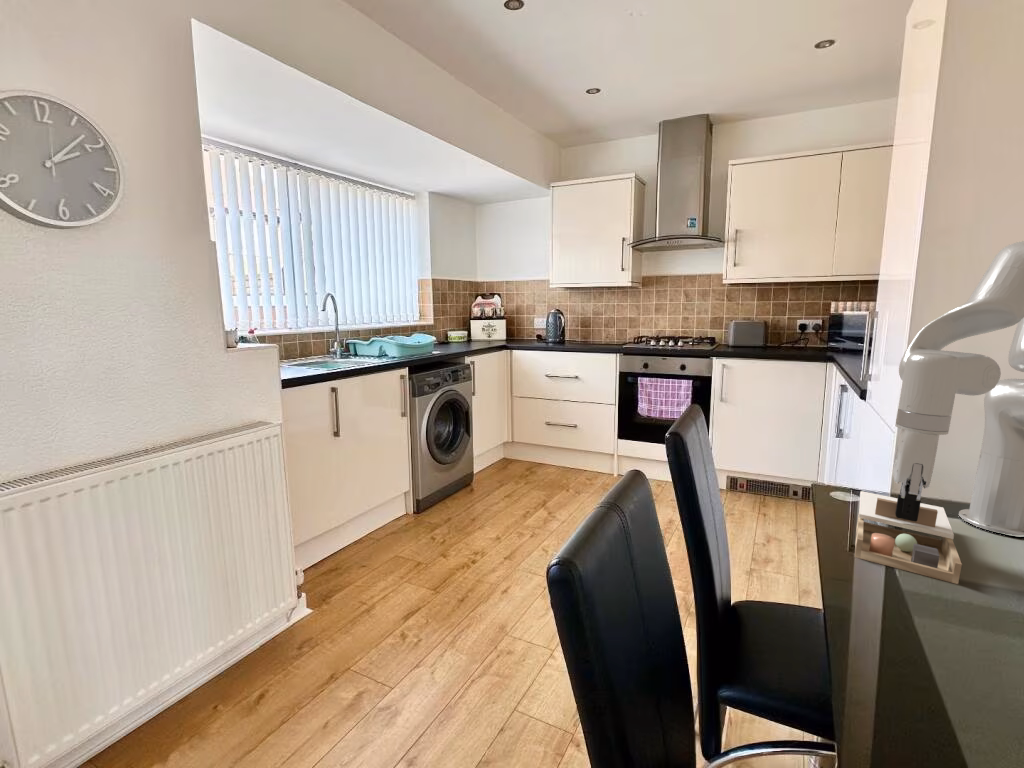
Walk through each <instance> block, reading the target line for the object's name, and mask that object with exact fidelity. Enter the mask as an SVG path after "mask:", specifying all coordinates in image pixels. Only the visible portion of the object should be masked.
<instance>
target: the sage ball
mask: <svg viewBox="0 0 1024 768" xmlns="http://www.w3.org/2000/svg"><path fill="white" fill-rule="evenodd" d="M895 543H896V545H897V547H898V548H899V549H900V550H902V551H905V552H912V551H913V546H914V544H917V541H916V539H915V538H914V537H913V536H911V535H909V534H900V535H898V536H897V537H896V539H895Z"/></svg>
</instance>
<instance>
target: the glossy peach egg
mask: <svg viewBox="0 0 1024 768" xmlns="http://www.w3.org/2000/svg"><path fill="white" fill-rule="evenodd" d="M894 543H895V539H894V538H892V537H890V536H888V535H885V534H880V533H873V534H872V536H871V542H870V548H869V551H871V552H875V553H878V554H882V555H886V556H890V557H892V555H893V549H894Z"/></svg>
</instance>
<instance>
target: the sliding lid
mask: <svg viewBox="0 0 1024 768" xmlns="http://www.w3.org/2000/svg"><path fill="white" fill-rule="evenodd" d="M897 499H898V497H897V498H896V497H893V496H888V495H882V494H877V493H872V492H867V491H861V490H860V493H859V507H858V508H859V509H858V510H859V511H858V514H859V518H862V519H864V520H867V521H871V522H876V523H880V524H885V525H890V526H894V527H897V528H898V527H899V528H903V529H907V530H912V531H916V532H920V533H924V534H928V535H934V536H937V537H941V538H942V537H946V538H950V539H953V540H954V538H955V534H954V531H953V529H952V526H951V524H950V521H949V518H948V516H947V514H946V511H945V508H944V507H943V506H937V505H934V504H933V505H931V504H926V503H920V508H919V514H918V520H917V521H910V520H905V519H901V518H897V517H896V514H895V511H896V505H897Z"/></svg>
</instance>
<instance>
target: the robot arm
mask: <svg viewBox="0 0 1024 768" xmlns="http://www.w3.org/2000/svg"><path fill="white" fill-rule="evenodd" d="M1015 325H1016V328H1015V330H1014V333H1013V337H1012V340H1011V344H1010V347H1009V351H1008V357H1007V358H1008V364H1009V366H1010V367H1011V368H1012V369H1013V370H1015V371H1018V372H1020V373H1024V241H1023V240H1022V241H1018V242H1017V241H1016V242H1013V243H1011V244H1008V245H1006V246H1004V247H1002V248H1001V249H1000V250H998V252H997V254H996V255H995V256H994V258H993V260H992V261H991V262H990V264H989V266H988V267H987V269H986V270H985V272H984V274H983V275H982V277H981V279H980V281H979V282H978V283H977V285H976V287H975V288H974V290H973V291H972V293H971V295H970V297H969V298H968V300H967V301H966V302H965V303H963V304H961V305H959V306H956V307H955V308H952V309H950V310H948V311H947V312H945V313H943V314H941V315H940V316H938V317H937V318H935V319H933V320H931V321H929V323H927V324H925V325H924V326H923V327H922V328H920V330H919V331H917V333H916V334H915V335H914V337H913V338H912V340H911V342H910V343H909V344H908V347H906V349H905V351H904V353H903V356H902V357H901V360H900V363H899V365H898V366H899V367H898V374H899V375H898V376H899V378H900V380H901V381H902V382H901V389H900V395H899V402H898V407H897V412H896V419H895V427H896V428H898V429H901V430H900V434H899V438H898V443H897V448H896V454H895V459H894V464H893V469H892V475H893V476H892V477H893V481H894V482H895V484H898V485H899V484H900V490H899V493H898V495H897V498H898V499H897V505H896V511H895V514H896V517H897V518H901V519H905V520H910V521H917V520H918V514H919V508H920V503H921V502H922V501H921V497H922V490H923V489H928V488H929V487H930V485H931V481H932V477H933V472H934V468H935V462H936V457H937V450H938V445H939V440H940V439H939V438H940V436H944V435H945V436H946V435H948V434H949V432H950V427H951V420H952V415H953V410H954V404H955V400H956V399H955V398H956V394H957V395H963V396H981V395H984V398H983V399H984V400H983V401H984V402H983V408H984V409H983V410H984V428H983V429H984V430H983V436H982V443H981V448H980V453H979V457H978V461H977V462H978V463H977V466H976V467H977V468H976V473H975V478H974V483H973V488H972V494H971V498H970V499H971V500H970V504H969V508H965V509H961V510H959V511H958V515H959V516H960V517H961V518H962V519H964V520H965V521H967V522H969V523H970V524H973V525H975V526H976V527H975V528H977V527H980V528H984V529H988V530H991V531H994V532H999V533H1005V534H1012V535H1024V378H1006V379H1005V378H1004V379H1001V374H1002V373H1001V368H1000V366H999V364H998V363H997V361H996V360H995V359H993V358H991V357H990V356H988V355H984V354H982V353H981V354H980V353H971V352H960V351H954V350H953V351H952V350H943V349H944V348H945V347H947V346H949V345H952V344H954V343H955V342H958V341H961V340H963V339H968V338H970V337H975V336H979V335H984V334H987V333H988V334H989V333H991V332H996V331H999V330H1003V329H1007V328H1010V327H1012V326H1015ZM959 516H958V517H959ZM970 524H969V525H970ZM980 528H979V529H980Z"/></svg>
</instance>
